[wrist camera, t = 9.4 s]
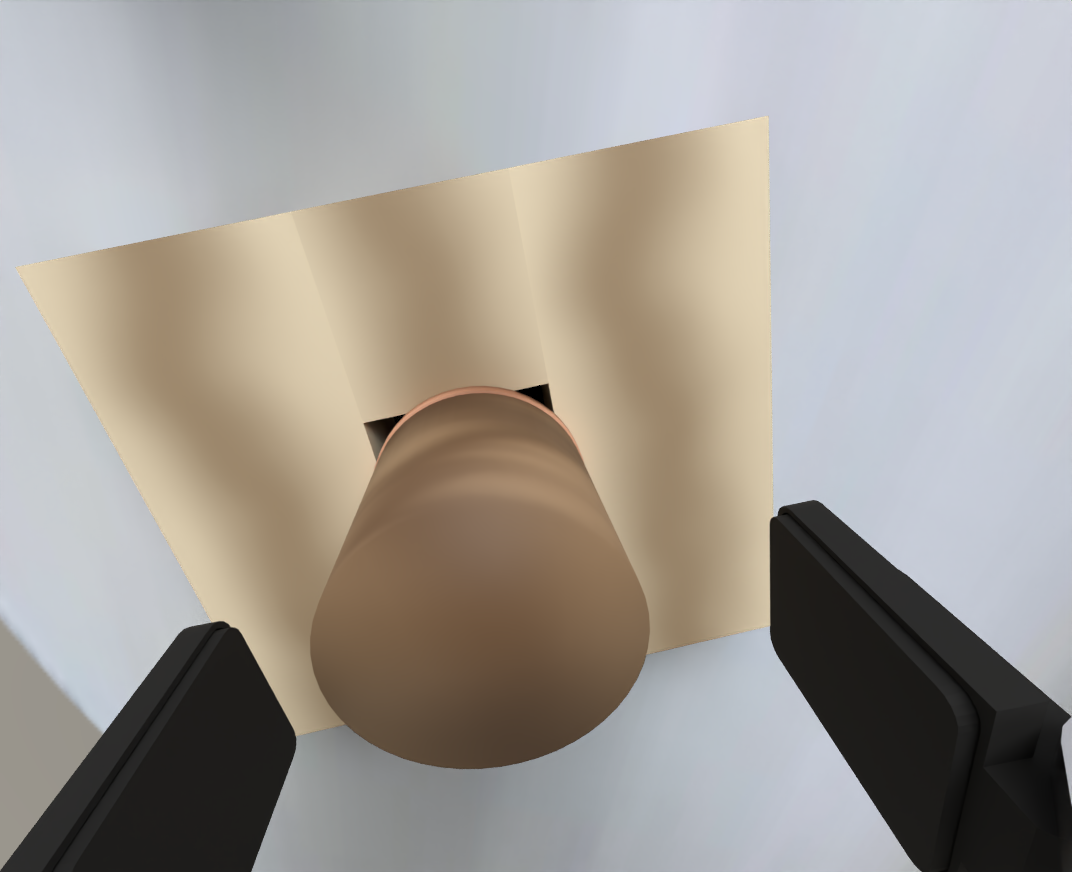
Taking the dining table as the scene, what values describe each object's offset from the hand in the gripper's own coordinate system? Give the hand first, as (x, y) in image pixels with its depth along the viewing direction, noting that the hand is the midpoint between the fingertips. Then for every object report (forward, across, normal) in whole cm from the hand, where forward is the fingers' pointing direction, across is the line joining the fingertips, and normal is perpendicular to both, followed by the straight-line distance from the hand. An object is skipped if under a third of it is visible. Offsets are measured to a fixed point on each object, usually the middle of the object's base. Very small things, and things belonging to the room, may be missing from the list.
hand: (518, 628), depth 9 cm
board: (+10, +1, 0) cm, 10 cm away
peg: (+10, +1, 0) cm, 10 cm away
